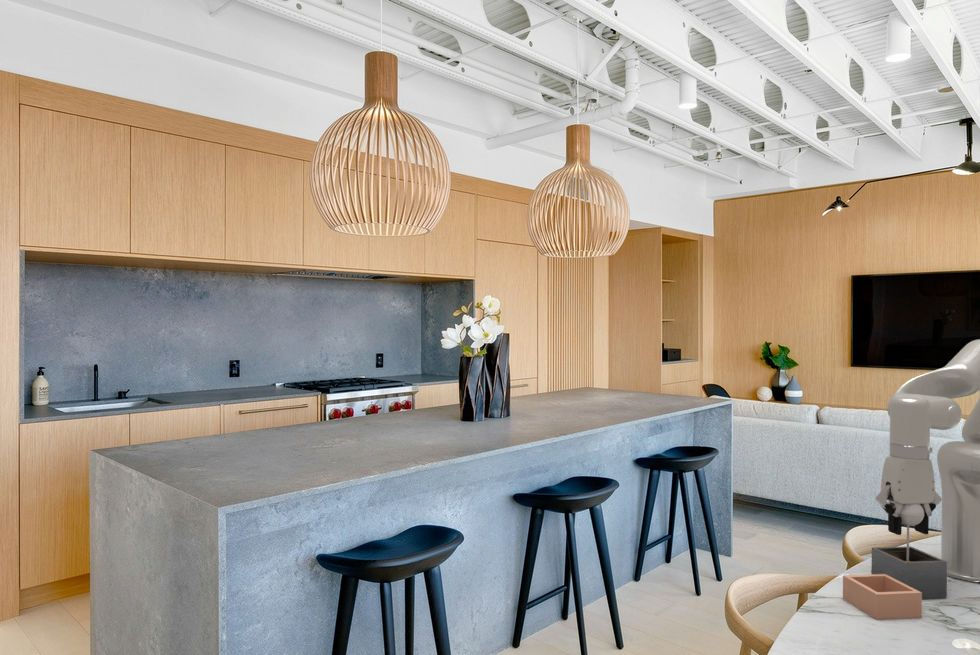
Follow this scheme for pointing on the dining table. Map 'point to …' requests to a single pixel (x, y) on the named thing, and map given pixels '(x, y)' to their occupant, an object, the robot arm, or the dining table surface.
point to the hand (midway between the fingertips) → (908, 532)
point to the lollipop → (911, 518)
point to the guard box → (912, 569)
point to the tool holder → (882, 596)
